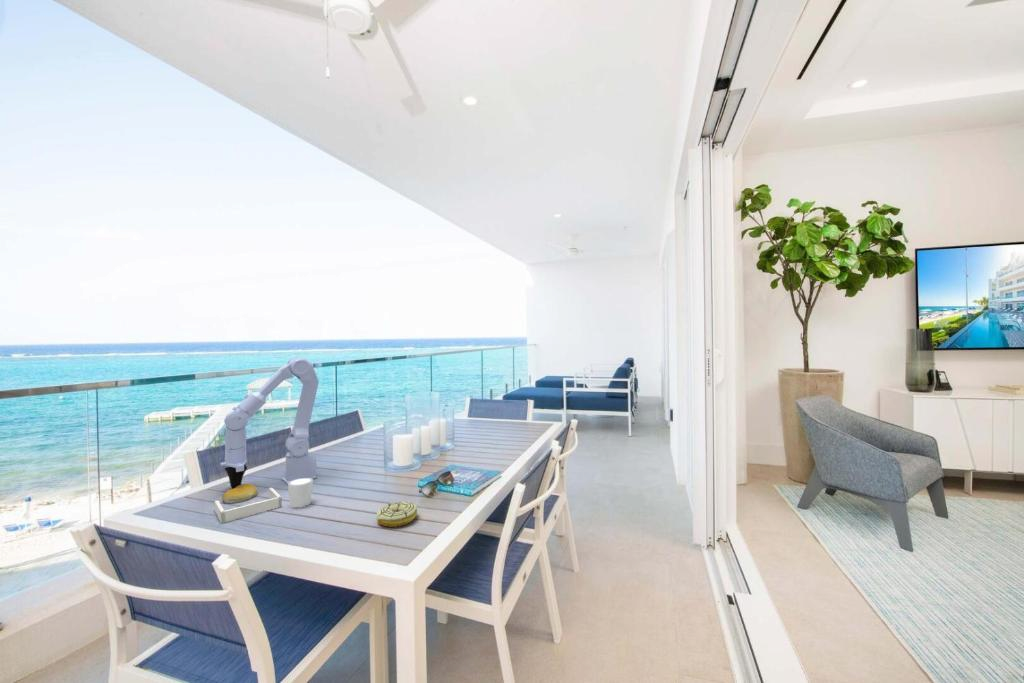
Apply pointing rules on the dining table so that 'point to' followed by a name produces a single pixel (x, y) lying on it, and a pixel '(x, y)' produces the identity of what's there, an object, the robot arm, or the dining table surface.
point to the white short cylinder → (300, 491)
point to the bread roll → (240, 493)
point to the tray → (248, 508)
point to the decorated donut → (396, 514)
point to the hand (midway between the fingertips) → (235, 488)
